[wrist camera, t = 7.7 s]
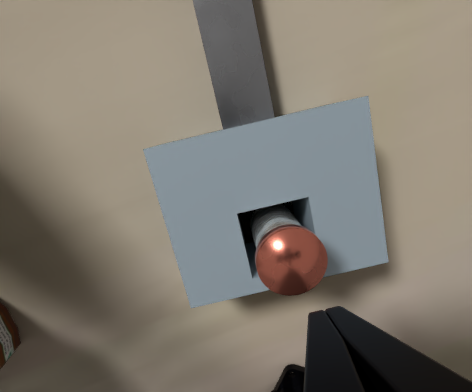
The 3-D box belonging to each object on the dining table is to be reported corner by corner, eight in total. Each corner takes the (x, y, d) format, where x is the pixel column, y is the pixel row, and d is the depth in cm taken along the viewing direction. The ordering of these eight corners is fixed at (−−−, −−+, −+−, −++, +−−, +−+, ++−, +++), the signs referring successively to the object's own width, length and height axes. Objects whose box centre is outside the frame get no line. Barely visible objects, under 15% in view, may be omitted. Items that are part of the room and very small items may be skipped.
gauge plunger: (301, 241, 17) (332, 286, 12) (252, 252, 17) (264, 302, 12) (292, 193, 16) (321, 221, 11) (241, 205, 16) (249, 238, 11)
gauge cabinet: (353, 230, 19) (392, 261, 15) (198, 266, 19) (190, 308, 15) (334, 103, 17) (372, 94, 13) (163, 143, 17) (143, 149, 13)
